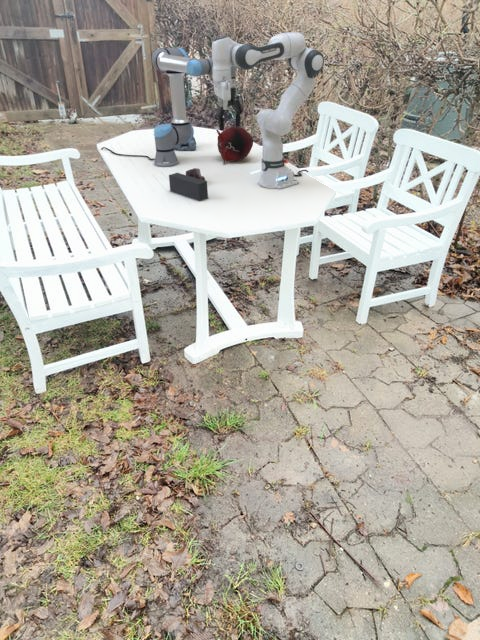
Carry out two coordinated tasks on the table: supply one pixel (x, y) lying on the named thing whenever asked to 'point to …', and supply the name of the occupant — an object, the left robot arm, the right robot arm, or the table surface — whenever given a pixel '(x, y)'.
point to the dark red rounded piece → (234, 144)
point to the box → (188, 186)
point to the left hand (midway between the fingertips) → (229, 128)
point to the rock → (195, 173)
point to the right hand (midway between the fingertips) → (222, 108)
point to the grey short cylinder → (186, 145)
